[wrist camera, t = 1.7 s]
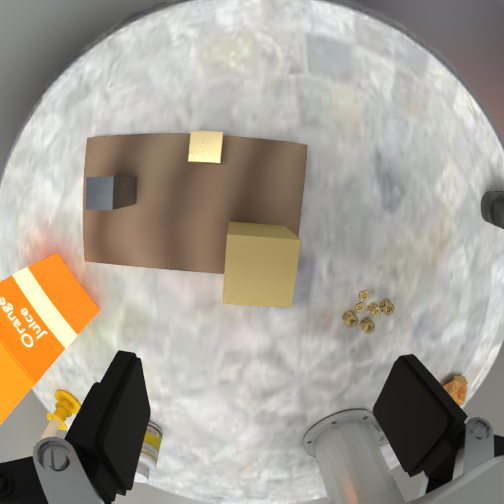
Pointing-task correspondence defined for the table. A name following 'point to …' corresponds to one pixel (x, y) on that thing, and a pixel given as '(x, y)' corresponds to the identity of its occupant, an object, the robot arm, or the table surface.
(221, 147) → the wooden stub
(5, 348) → the orange juice
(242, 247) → the tan rectangular block
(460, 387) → the pyrite
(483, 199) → the beverage cup
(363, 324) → the set of tan pieces
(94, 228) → the board
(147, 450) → the supplement bottle
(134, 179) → the post
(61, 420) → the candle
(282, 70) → the table surface
